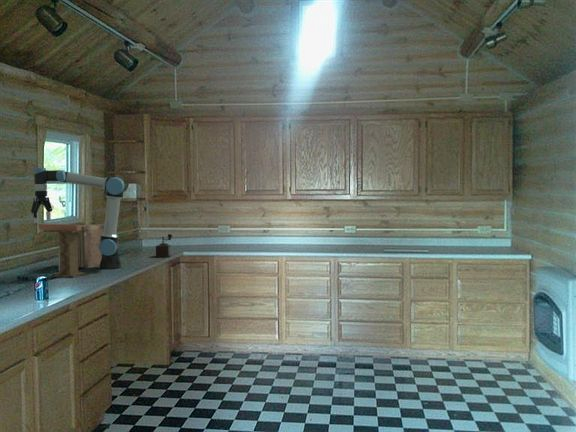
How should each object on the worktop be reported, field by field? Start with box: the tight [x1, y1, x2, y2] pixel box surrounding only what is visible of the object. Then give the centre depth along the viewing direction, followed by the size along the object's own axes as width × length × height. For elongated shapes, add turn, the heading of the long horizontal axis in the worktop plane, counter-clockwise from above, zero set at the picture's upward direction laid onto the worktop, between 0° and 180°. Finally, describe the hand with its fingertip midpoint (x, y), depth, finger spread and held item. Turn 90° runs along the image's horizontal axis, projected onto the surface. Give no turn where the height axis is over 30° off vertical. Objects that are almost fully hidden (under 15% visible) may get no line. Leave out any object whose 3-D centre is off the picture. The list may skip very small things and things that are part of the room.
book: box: [78, 223, 104, 269], centre depth 422 cm, size 25×9×30 cm, turn 167°
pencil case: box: [38, 223, 82, 231], centre depth 379 cm, size 30×4×4 cm, turn 72°
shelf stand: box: [50, 230, 87, 279], centre depth 378 cm, size 17×13×30 cm
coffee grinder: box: [155, 233, 173, 258], centre depth 477 cm, size 16×11×18 cm
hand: (42, 222), depth 392 cm, fingers open, 13 cm apart
